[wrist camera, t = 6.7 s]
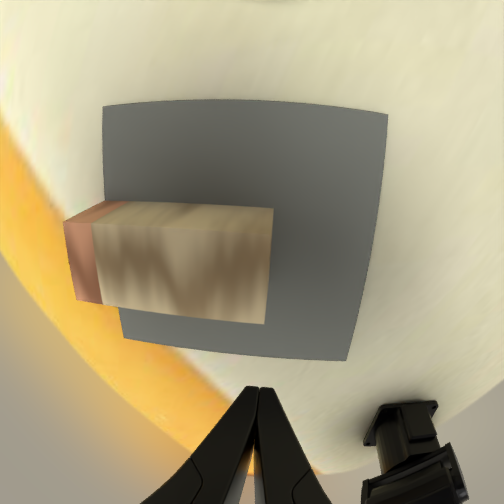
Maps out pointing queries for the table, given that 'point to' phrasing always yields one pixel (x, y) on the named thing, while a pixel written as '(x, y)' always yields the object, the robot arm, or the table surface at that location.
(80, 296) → the pine block
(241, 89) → the table surface
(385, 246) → the table surface
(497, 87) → the table surface
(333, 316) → the rubber mat
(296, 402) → the table surface
